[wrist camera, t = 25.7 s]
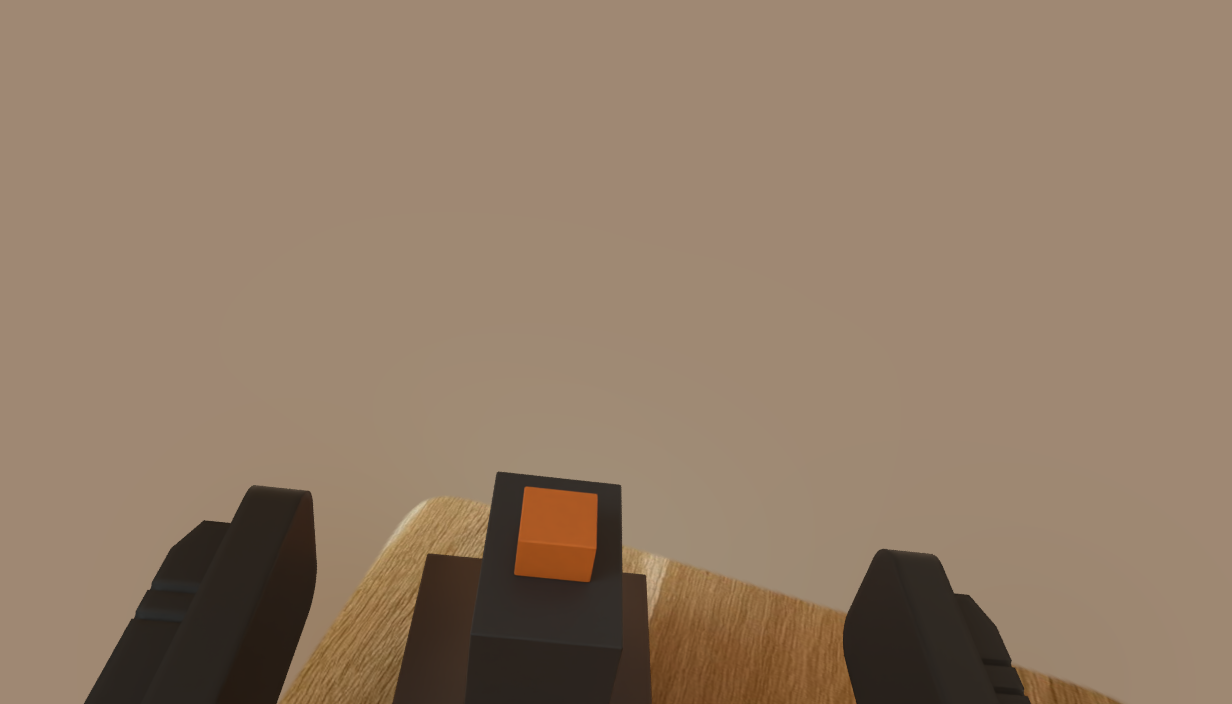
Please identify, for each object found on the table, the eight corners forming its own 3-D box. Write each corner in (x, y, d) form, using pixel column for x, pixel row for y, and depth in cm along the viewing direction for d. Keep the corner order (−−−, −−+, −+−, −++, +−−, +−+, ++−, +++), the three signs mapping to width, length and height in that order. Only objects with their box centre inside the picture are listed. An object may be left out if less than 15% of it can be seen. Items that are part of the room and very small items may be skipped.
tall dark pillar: (452, 842, 31) (472, 597, 24) (477, 675, 37) (500, 436, 30) (574, 850, 32) (632, 613, 24) (580, 684, 38) (628, 450, 30)
